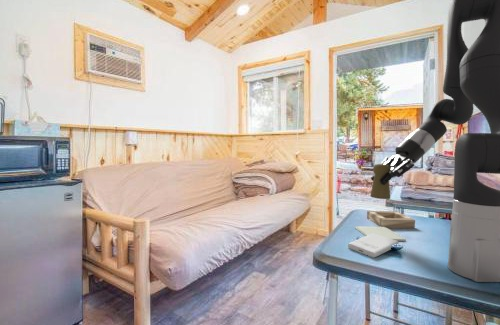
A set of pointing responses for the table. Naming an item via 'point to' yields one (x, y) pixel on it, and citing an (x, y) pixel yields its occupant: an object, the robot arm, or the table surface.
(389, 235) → the mat
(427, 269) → the table surface
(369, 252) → the external hard drive
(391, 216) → the holder
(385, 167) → the cork
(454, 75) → the robot arm
